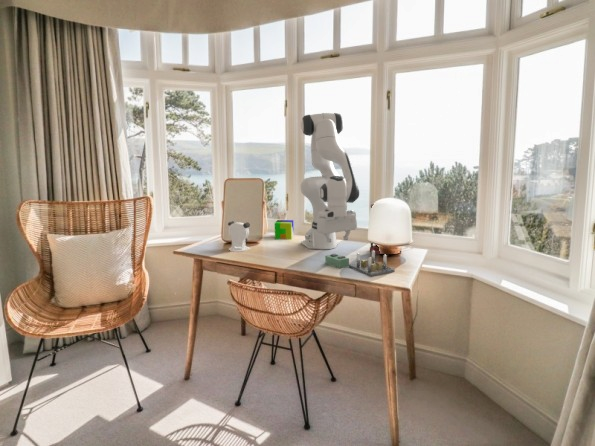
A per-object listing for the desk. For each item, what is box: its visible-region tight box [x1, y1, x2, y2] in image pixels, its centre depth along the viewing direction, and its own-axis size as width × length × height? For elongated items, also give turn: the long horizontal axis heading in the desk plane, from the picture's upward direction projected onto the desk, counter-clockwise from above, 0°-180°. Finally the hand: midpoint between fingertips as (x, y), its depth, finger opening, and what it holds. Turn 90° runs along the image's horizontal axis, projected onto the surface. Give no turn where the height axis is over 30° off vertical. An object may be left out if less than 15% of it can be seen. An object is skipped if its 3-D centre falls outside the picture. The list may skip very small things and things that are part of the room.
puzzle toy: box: [274, 219, 295, 240], centre depth 240 cm, size 10×10×10 cm
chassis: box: [348, 251, 395, 277], centre depth 175 cm, size 16×13×7 cm
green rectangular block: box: [324, 253, 350, 269], centre depth 183 cm, size 10×6×5 cm, turn 36°
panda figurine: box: [227, 221, 251, 253], centre depth 213 cm, size 12×11×15 cm
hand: (337, 241), depth 181 cm, fingers open, 8 cm apart
